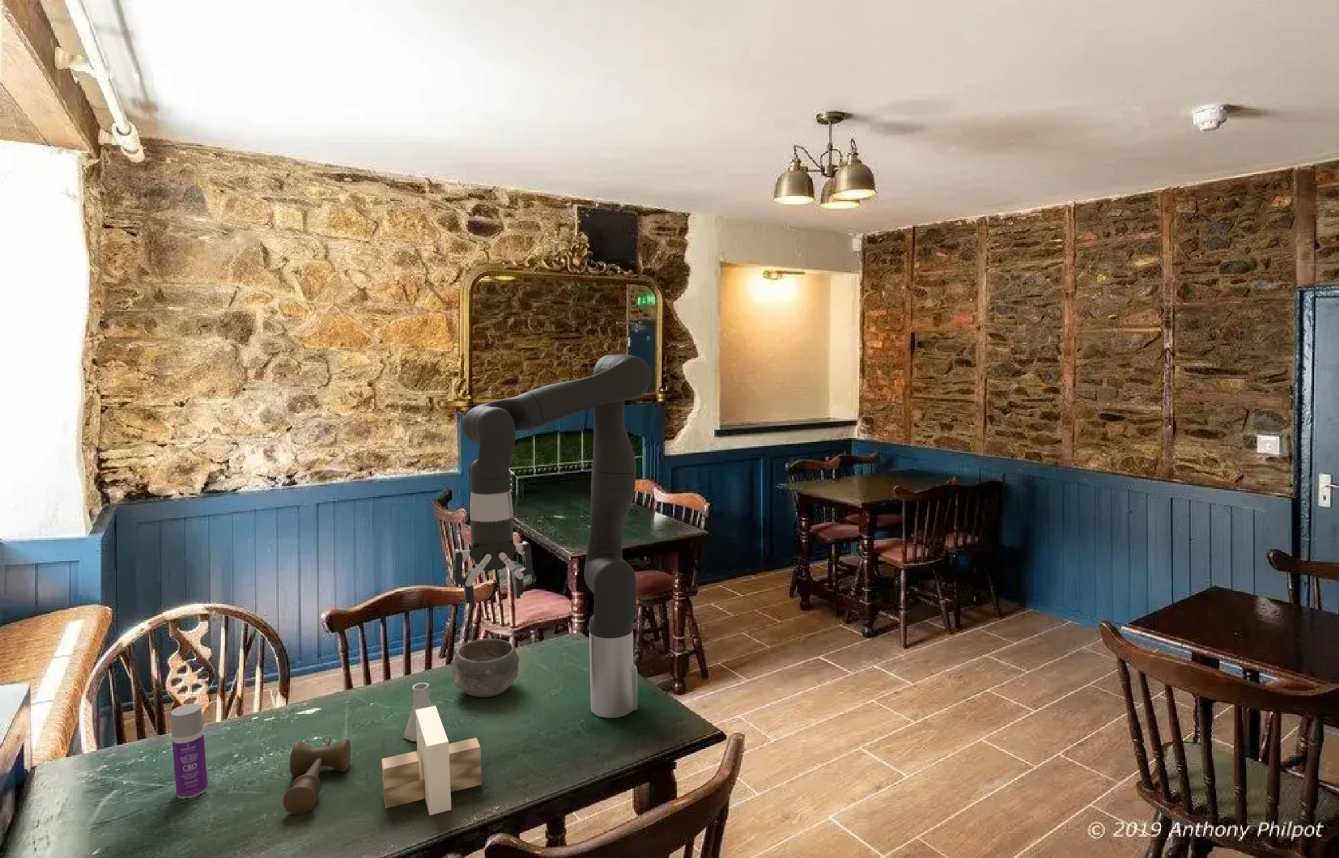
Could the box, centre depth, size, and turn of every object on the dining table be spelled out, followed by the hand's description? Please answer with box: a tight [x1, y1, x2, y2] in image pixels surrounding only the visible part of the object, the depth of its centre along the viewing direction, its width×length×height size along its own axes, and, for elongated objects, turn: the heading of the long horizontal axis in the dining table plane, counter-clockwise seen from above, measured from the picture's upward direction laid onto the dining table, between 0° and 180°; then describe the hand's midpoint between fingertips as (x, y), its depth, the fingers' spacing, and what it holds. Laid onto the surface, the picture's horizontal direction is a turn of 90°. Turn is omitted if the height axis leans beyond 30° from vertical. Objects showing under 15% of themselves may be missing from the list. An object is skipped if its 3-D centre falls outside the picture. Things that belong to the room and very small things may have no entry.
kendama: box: [282, 737, 352, 815], centre depth 134 cm, size 6×10×20 cm
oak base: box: [381, 737, 482, 809], centre depth 131 cm, size 16×4×7 cm, turn 115°
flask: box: [402, 682, 433, 743], centre depth 150 cm, size 7×7×10 cm
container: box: [170, 703, 209, 800], centre depth 131 cm, size 5×5×15 cm
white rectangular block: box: [415, 705, 452, 816], centre depth 130 cm, size 14×4×12 cm, turn 26°
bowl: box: [450, 638, 520, 698], centre depth 169 cm, size 14×15×10 cm
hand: (494, 601), depth 139 cm, fingers open, 8 cm apart
